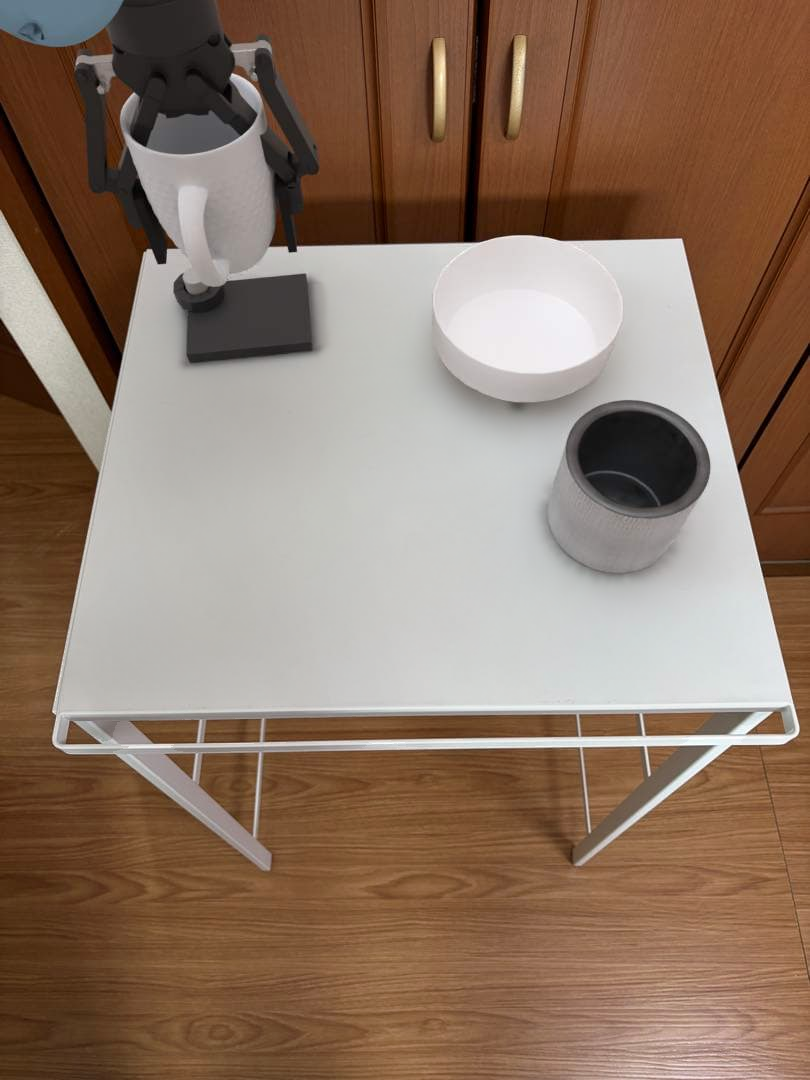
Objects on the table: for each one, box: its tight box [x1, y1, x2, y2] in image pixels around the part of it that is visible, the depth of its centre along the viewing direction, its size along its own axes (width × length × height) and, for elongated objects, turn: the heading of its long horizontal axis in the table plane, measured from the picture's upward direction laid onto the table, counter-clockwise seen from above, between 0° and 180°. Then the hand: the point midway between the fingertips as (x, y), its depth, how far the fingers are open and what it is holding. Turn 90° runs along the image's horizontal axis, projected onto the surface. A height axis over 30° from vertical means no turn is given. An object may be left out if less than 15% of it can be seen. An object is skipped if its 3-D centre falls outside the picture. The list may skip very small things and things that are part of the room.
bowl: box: [431, 235, 625, 403], centre depth 80 cm, size 20×20×8 cm
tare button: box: [183, 267, 209, 295], centre depth 86 cm, size 3×3×2 cm
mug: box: [119, 72, 279, 287], centre depth 61 cm, size 15×11×13 cm
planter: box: [546, 399, 711, 574], centre depth 69 cm, size 12×13×11 cm
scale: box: [172, 271, 314, 364], centre depth 86 cm, size 15×12×3 cm
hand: (227, 247), depth 67 cm, fingers closed on mug, 11 cm apart
